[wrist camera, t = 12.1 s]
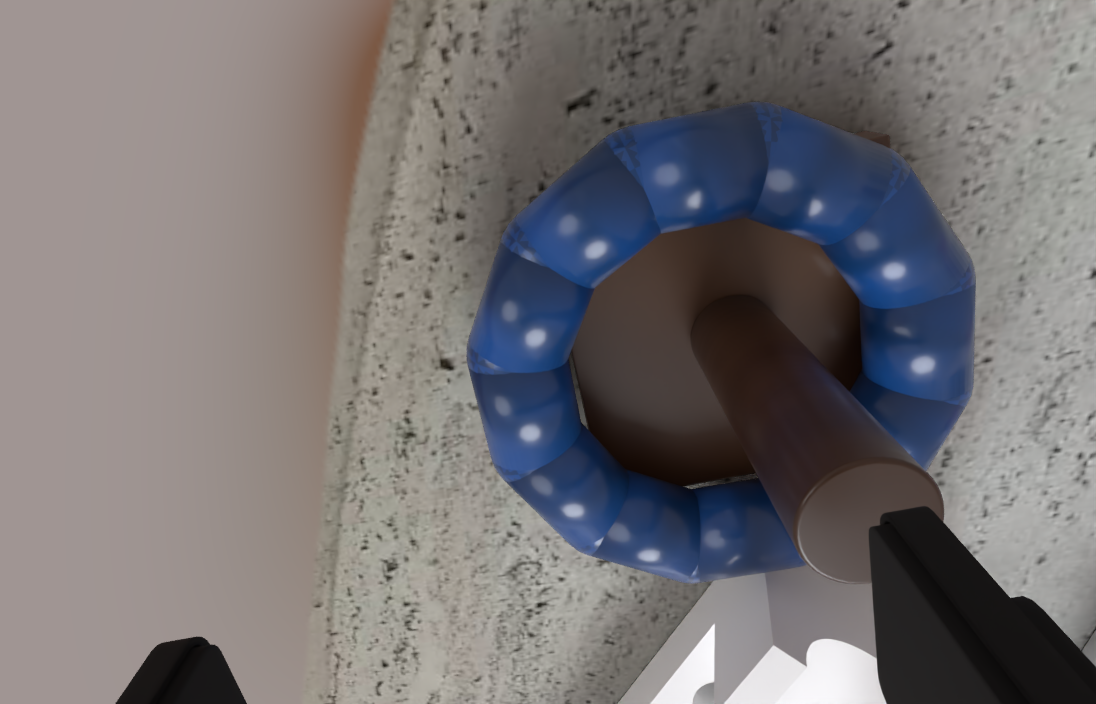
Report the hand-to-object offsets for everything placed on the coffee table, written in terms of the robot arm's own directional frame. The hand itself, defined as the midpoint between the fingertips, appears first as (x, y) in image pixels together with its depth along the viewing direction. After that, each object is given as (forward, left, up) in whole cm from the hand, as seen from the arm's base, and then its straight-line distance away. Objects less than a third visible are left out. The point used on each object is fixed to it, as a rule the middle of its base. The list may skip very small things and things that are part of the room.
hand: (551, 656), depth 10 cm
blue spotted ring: (0, +4, -10) cm, 10 cm away
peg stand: (0, +5, -12) cm, 13 cm away
